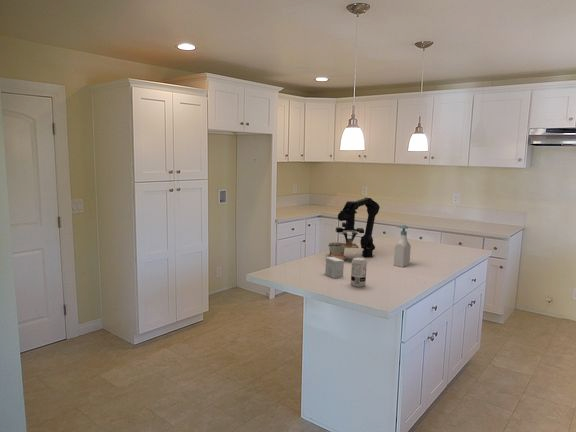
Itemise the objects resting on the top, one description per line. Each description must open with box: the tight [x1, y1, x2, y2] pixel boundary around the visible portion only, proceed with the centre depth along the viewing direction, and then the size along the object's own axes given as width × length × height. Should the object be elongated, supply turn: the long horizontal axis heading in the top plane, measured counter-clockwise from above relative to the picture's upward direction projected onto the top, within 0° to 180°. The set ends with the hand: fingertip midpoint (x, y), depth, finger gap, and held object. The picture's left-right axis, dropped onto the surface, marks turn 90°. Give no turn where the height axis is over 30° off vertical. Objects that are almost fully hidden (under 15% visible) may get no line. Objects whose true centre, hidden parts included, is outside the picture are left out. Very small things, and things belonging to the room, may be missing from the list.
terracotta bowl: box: [331, 254, 345, 261], centre depth 289 cm, size 9×9×4 cm
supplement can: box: [350, 257, 368, 288], centre depth 236 cm, size 8×8×15 cm
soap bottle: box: [393, 224, 412, 268], centre depth 283 cm, size 11×8×27 cm
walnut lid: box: [339, 237, 360, 249], centre depth 287 cm, size 11×11×5 cm
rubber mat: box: [345, 258, 353, 264], centre depth 290 cm, size 12×12×1 cm
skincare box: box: [324, 256, 345, 279], centre depth 254 cm, size 10×6×10 cm, turn 30°
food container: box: [328, 242, 345, 257], centre depth 303 cm, size 12×6×10 cm, turn 84°
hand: (349, 242), depth 287 cm, fingers closed on walnut lid, 3 cm apart
